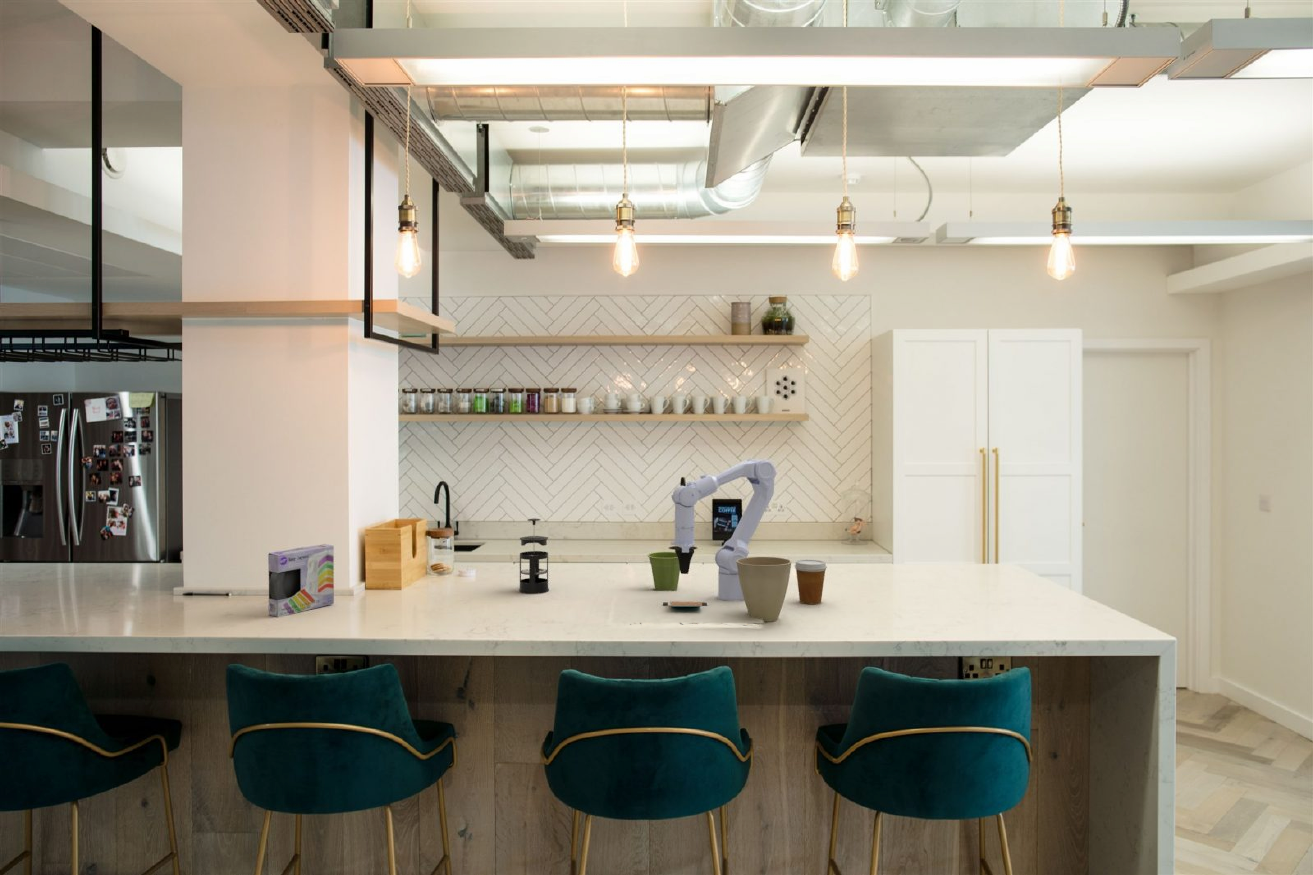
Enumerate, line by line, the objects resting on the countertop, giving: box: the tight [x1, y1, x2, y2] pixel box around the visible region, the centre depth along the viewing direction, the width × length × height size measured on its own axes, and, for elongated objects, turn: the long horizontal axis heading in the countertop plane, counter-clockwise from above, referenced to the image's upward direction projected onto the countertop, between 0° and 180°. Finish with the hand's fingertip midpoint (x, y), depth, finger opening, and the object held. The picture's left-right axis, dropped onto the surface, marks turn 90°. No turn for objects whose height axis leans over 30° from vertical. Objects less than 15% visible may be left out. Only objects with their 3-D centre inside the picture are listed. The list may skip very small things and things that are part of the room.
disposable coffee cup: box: [794, 559, 828, 605], centre depth 241 cm, size 10×10×12 cm
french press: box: [518, 517, 550, 595], centre depth 257 cm, size 12×9×23 cm
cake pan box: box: [267, 543, 335, 618], centre depth 228 cm, size 19×5×18 cm, turn 149°
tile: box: [669, 600, 702, 608], centre depth 227 cm, size 9×1×9 cm
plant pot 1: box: [647, 551, 681, 592], centre depth 259 cm, size 12×12×11 cm
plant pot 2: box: [736, 556, 792, 623], centre depth 220 cm, size 15×15×16 cm
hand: (684, 573), depth 236 cm, fingers closed
